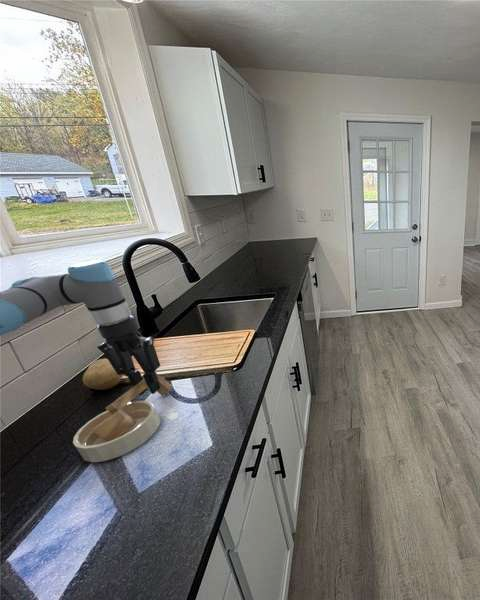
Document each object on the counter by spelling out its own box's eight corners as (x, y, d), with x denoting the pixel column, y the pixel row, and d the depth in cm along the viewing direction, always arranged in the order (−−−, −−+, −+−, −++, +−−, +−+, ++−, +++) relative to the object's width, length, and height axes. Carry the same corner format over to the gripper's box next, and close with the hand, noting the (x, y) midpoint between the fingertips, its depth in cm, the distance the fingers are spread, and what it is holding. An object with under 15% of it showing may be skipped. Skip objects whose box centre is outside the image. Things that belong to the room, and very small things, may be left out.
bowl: (64, 467, 72) (53, 451, 70) (116, 418, 86) (108, 403, 84) (133, 460, 73) (124, 444, 71) (173, 412, 87) (167, 397, 85)
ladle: (122, 435, 74) (97, 414, 72) (102, 448, 75) (77, 428, 73) (178, 384, 95) (160, 367, 93) (162, 395, 96) (143, 378, 94)
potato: (88, 404, 93) (75, 382, 90) (90, 383, 103) (79, 362, 100) (129, 388, 99) (118, 367, 95) (128, 370, 109) (118, 350, 106)
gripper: (155, 310, 86) (184, 380, 95) (95, 316, 85) (131, 386, 94) (136, 323, 79) (170, 397, 88) (70, 329, 78) (111, 403, 87)
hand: (149, 391), depth 91 cm, fingers closed on ladle, 3 cm apart
